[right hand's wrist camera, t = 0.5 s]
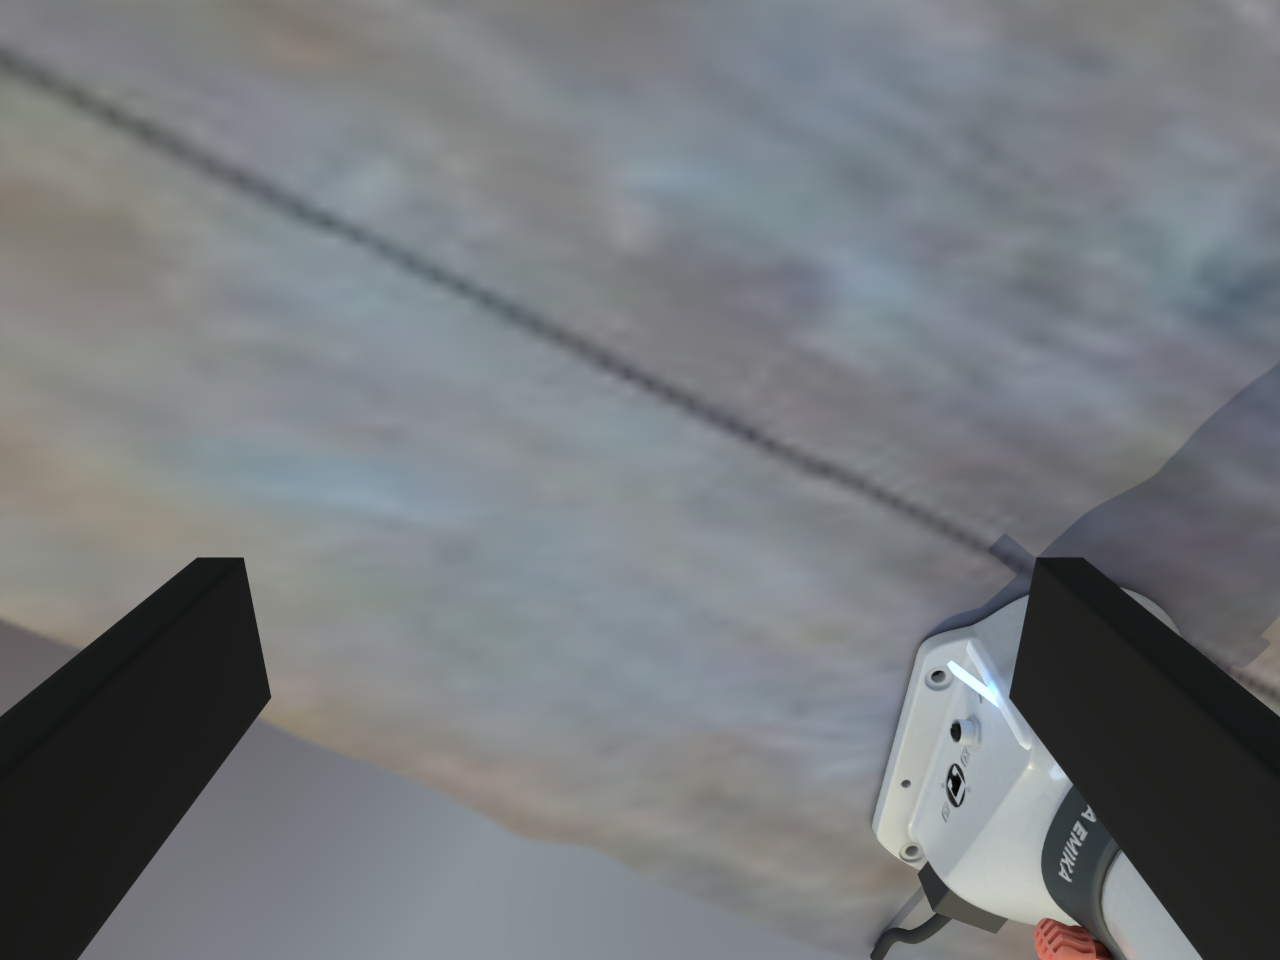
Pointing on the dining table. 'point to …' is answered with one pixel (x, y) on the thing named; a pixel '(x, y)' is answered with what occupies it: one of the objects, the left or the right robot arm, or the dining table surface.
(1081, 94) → the dining table surface
